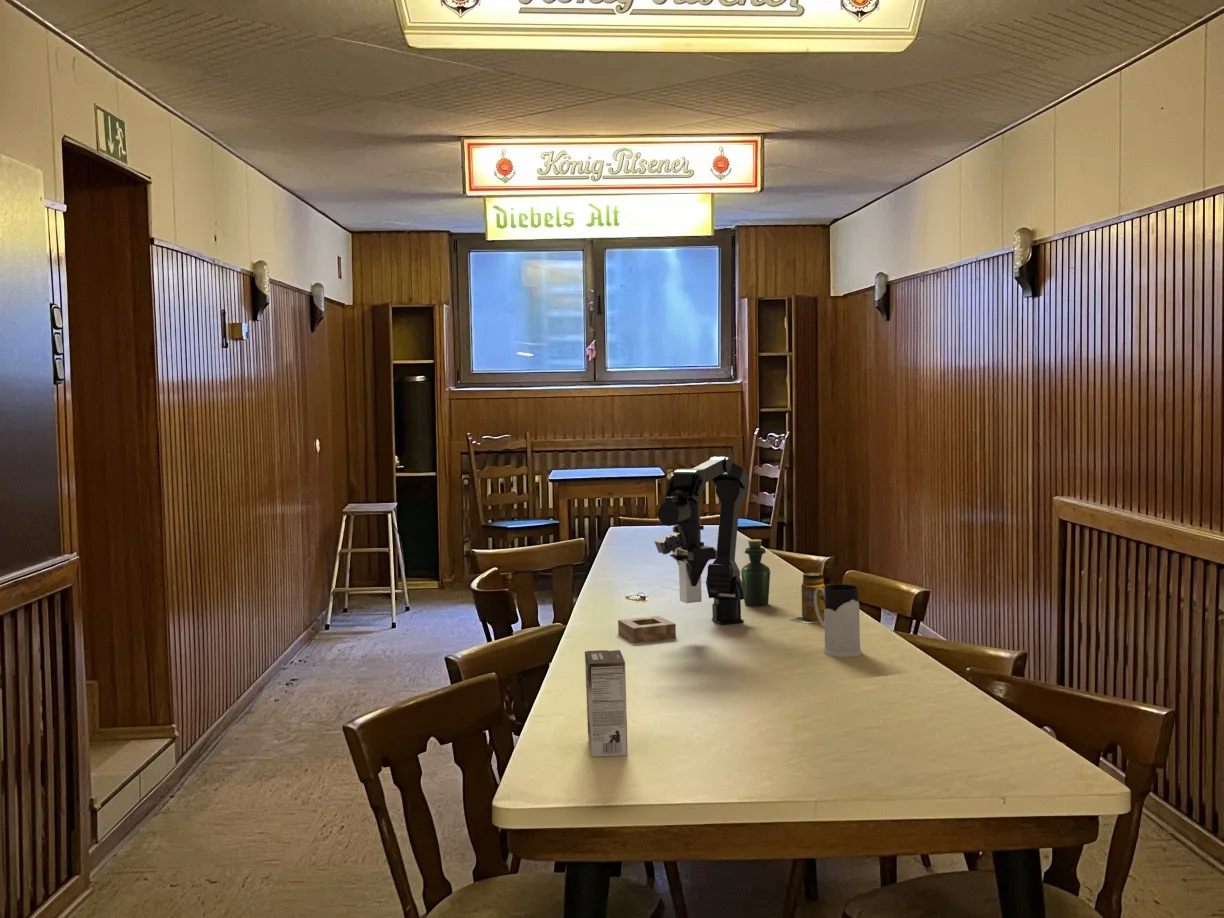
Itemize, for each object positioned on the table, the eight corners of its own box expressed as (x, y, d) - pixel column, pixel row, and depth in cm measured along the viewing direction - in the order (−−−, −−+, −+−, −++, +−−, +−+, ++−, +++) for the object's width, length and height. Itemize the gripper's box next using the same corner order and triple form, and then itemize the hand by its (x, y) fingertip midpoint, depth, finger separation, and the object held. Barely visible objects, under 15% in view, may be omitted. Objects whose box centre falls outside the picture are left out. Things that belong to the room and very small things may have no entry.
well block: (659, 629, 289) (658, 615, 288) (675, 637, 278) (675, 623, 278) (618, 633, 285) (618, 619, 285) (634, 642, 275) (633, 628, 274)
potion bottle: (770, 601, 321) (769, 538, 320) (771, 607, 313) (770, 542, 312) (741, 601, 322) (740, 538, 321) (742, 607, 314) (740, 542, 312)
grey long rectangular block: (694, 599, 280) (693, 558, 279) (701, 601, 276) (700, 561, 276) (679, 600, 279) (678, 560, 278) (686, 603, 275) (685, 562, 274)
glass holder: (839, 659, 252) (838, 592, 251) (800, 646, 265) (799, 583, 264) (870, 653, 256) (869, 587, 255) (830, 642, 269) (829, 579, 268)
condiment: (832, 619, 294) (831, 573, 293) (808, 624, 289) (807, 577, 289) (813, 615, 300) (812, 570, 299) (789, 619, 296) (788, 574, 295)
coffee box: (587, 741, 199) (584, 650, 198) (623, 739, 200) (620, 648, 199) (590, 757, 190) (587, 663, 189) (628, 755, 191) (625, 661, 190)
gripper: (643, 519, 282) (644, 582, 283) (674, 527, 265) (675, 593, 266) (683, 516, 286) (685, 578, 287) (717, 524, 269) (718, 589, 270)
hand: (690, 584), depth 277 cm, fingers closed on grey long rectangular block, 4 cm apart
